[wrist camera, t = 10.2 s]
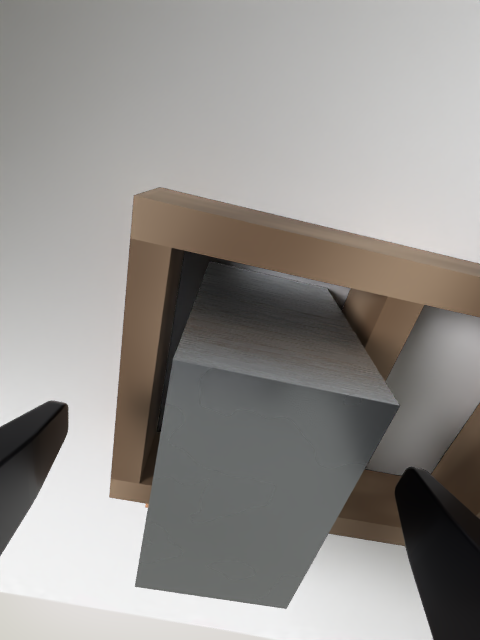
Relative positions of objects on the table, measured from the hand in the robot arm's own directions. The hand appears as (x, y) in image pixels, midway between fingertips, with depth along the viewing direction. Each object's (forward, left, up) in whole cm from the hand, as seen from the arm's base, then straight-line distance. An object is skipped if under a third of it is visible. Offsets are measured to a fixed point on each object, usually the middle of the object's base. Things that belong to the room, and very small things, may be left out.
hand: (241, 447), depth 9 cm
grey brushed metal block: (0, 0, -4) cm, 4 cm away
